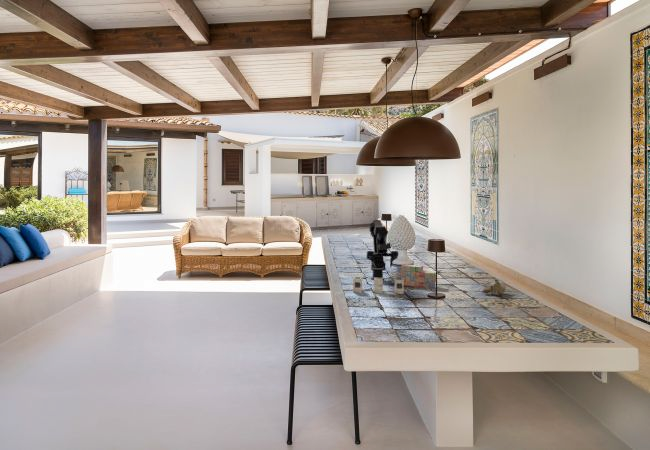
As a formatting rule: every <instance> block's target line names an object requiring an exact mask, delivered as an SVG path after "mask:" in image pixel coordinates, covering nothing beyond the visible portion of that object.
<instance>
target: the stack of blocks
mask: <svg viewBox="0 0 650 450" xmlns="http://www.w3.org/2000/svg"><path fill="white" fill-rule="evenodd" d="M436 272H437V271H434V270H433V271H431V270H424V266H423V265H418V264H407V263H406V264H405V263H403V264H402V265H400V278H403V279H404V286H409V287H417V286H418V287H419V288H426V289H427V288H428V289H435V288H436V287H435V282H436Z"/></svg>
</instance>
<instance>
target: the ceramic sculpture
mask: <svg viewBox="0 0 650 450" xmlns="http://www.w3.org/2000/svg"><path fill="white" fill-rule="evenodd" d="M505 291H506V286H505V283H504V282H503V281H502V279H500V280H498V279H494V280H493V281H492V282H490V283H489V285H488V287H485V288H484V289H483V290H481V292H482V293H483V294H489V293H490V294H491V295H494V296H501V295H502V294H503V293H505Z"/></svg>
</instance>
